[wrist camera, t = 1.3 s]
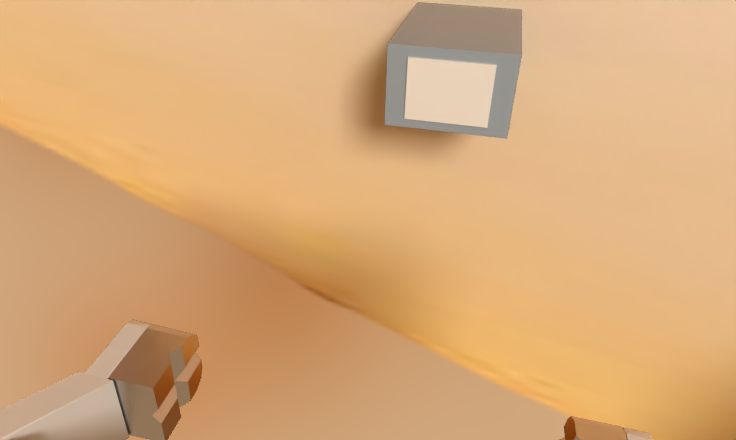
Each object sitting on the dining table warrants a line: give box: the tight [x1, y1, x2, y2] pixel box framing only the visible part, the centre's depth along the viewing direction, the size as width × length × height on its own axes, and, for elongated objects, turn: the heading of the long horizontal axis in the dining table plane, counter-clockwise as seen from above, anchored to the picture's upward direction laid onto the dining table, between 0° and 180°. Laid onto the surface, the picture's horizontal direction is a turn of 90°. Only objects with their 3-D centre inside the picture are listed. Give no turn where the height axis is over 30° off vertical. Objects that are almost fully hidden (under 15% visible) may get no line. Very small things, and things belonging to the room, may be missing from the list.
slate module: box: [385, 2, 522, 139], centre depth 29 cm, size 6×4×9 cm, turn 89°
